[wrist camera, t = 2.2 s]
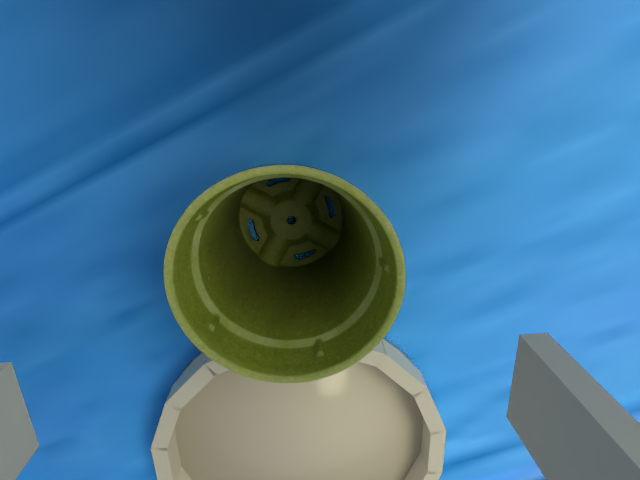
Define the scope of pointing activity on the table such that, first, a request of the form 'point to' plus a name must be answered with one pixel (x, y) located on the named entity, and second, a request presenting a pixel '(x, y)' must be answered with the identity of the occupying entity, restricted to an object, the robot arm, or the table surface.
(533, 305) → the table surface
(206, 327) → the plant pot
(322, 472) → the saucer
